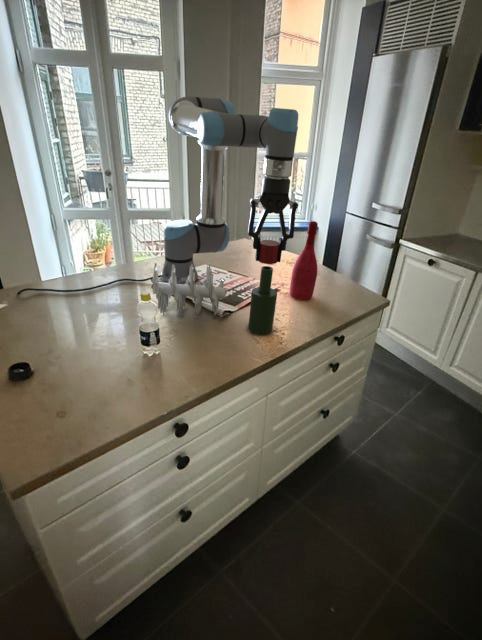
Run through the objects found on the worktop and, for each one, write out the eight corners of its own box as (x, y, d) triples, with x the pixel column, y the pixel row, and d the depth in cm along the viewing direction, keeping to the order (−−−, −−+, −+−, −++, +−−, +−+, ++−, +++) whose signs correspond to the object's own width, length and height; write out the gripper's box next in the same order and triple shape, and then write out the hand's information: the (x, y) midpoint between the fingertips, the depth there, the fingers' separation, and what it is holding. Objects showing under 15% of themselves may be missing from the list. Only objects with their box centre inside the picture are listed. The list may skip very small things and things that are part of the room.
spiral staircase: (222, 328, 134) (152, 324, 131) (222, 291, 143) (156, 286, 140) (228, 296, 119) (148, 290, 115) (227, 256, 127) (153, 249, 124)
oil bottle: (249, 335, 124) (255, 272, 111) (247, 323, 131) (253, 262, 118) (273, 336, 124) (281, 273, 112) (270, 324, 131) (278, 264, 119)
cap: (258, 263, 111) (260, 245, 108) (257, 256, 116) (258, 239, 113) (278, 264, 111) (280, 246, 108) (276, 258, 116) (278, 240, 113)
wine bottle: (311, 292, 156) (325, 219, 139) (313, 302, 148) (328, 226, 131) (288, 290, 157) (299, 217, 140) (288, 300, 149) (300, 223, 132)
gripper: (242, 176, 97) (237, 262, 110) (314, 181, 98) (300, 266, 111) (241, 172, 103) (236, 254, 116) (308, 177, 104) (296, 257, 117)
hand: (267, 259), depth 113 cm, fingers closed on cap, 6 cm apart
